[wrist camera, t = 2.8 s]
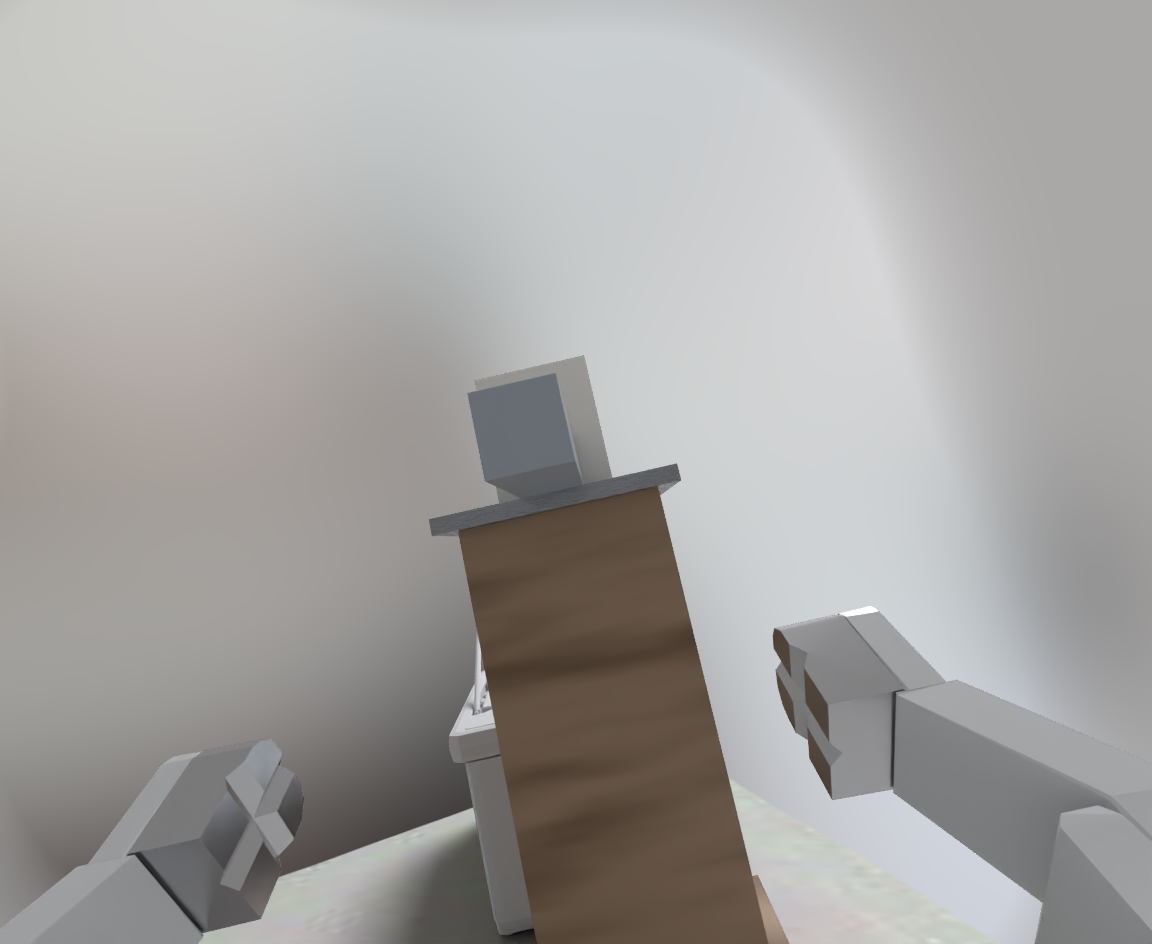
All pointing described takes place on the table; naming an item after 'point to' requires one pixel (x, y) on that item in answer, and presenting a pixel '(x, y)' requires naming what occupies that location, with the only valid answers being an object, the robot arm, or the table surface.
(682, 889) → the stand
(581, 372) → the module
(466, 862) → the table surface
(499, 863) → the stereo radio cassette player
